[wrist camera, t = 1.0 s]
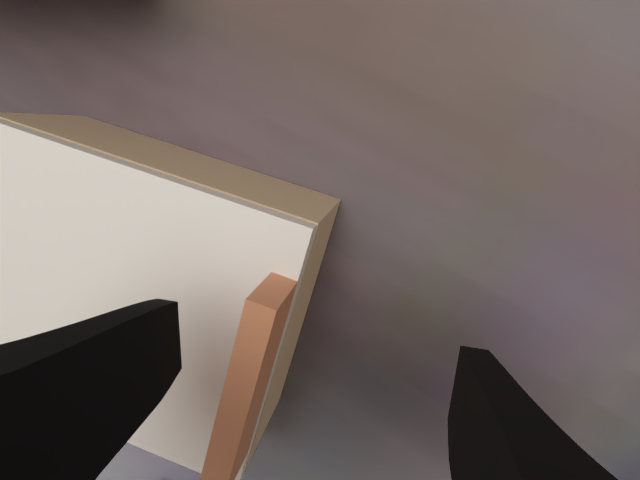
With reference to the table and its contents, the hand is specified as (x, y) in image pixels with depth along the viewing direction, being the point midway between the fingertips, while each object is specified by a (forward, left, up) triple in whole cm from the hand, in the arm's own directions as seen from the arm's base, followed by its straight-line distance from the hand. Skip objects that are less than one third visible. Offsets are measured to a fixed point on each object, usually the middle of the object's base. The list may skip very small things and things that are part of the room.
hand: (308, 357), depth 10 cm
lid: (-4, +8, -5) cm, 11 cm away
